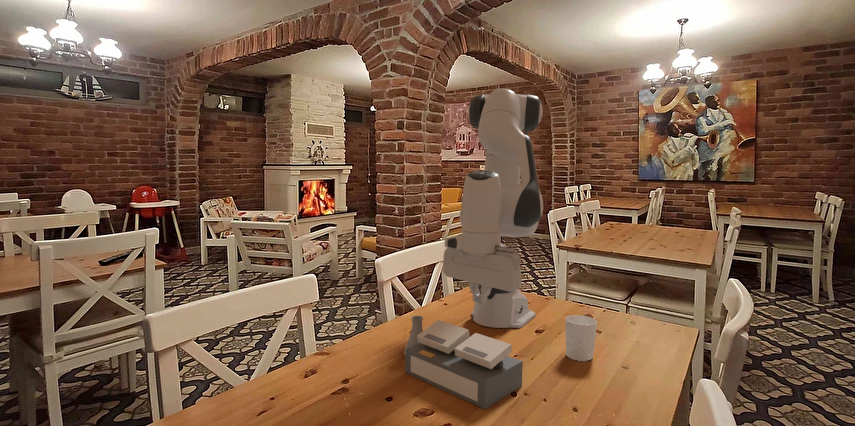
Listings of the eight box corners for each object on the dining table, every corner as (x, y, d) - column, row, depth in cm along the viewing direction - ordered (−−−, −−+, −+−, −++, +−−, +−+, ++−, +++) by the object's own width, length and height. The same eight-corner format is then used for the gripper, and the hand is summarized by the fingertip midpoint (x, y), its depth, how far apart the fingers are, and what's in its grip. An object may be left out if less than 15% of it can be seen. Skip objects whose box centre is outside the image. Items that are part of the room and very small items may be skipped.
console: (443, 355, 122) (444, 327, 121) (521, 386, 106) (522, 354, 105) (404, 372, 112) (405, 342, 111) (484, 409, 95) (485, 374, 95)
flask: (427, 360, 119) (428, 323, 118) (400, 358, 120) (400, 321, 119) (432, 349, 126) (433, 314, 125) (407, 347, 128) (407, 312, 126)
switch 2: (476, 339, 110) (475, 332, 110) (511, 351, 103) (511, 344, 103) (455, 355, 105) (454, 348, 104) (491, 369, 98) (490, 361, 97)
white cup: (569, 348, 128) (571, 313, 127) (598, 355, 123) (600, 318, 122) (559, 357, 121) (561, 321, 120) (590, 365, 117) (592, 327, 116)
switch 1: (439, 325, 118) (438, 319, 118) (469, 336, 111) (468, 329, 111) (418, 342, 113) (416, 335, 112) (448, 353, 106) (447, 347, 105)
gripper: (528, 247, 99) (526, 309, 101) (456, 236, 113) (456, 290, 115) (511, 251, 95) (509, 316, 96) (439, 239, 109) (438, 295, 111)
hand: (479, 302), depth 106 cm, fingers closed
